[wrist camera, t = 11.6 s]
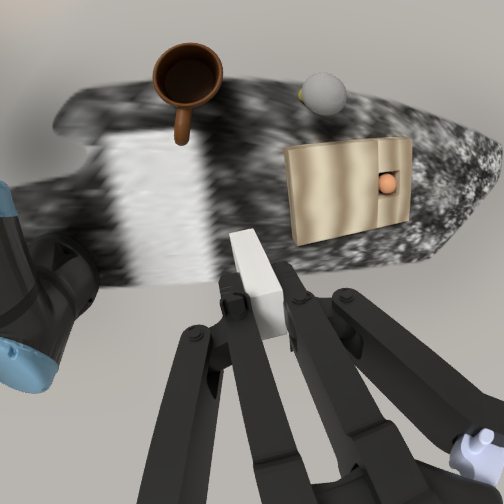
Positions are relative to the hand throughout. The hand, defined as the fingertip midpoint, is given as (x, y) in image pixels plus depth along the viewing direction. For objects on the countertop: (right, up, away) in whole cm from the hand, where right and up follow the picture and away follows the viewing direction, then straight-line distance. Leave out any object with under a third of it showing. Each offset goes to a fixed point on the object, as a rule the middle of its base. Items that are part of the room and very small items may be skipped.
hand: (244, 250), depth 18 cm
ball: (+23, +11, +25) cm, 36 cm away
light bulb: (+8, +22, +18) cm, 30 cm away
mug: (-8, +20, +16) cm, 27 cm away
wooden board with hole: (+17, +11, +26) cm, 33 cm away
